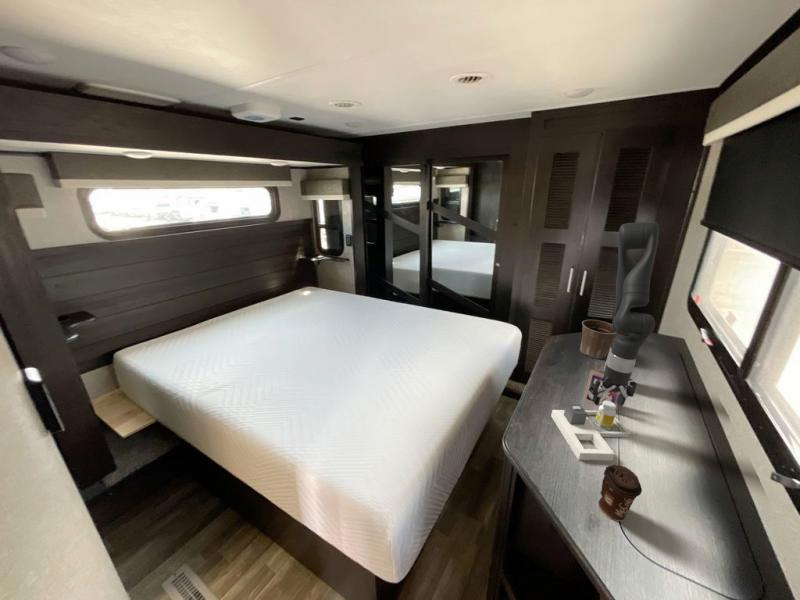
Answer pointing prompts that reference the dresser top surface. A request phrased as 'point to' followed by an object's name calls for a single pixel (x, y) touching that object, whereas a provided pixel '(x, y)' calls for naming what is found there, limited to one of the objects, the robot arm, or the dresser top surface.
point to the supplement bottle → (605, 415)
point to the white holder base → (581, 433)
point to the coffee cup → (618, 491)
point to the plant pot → (596, 338)
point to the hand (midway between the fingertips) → (607, 404)
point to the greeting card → (605, 397)
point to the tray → (611, 434)
